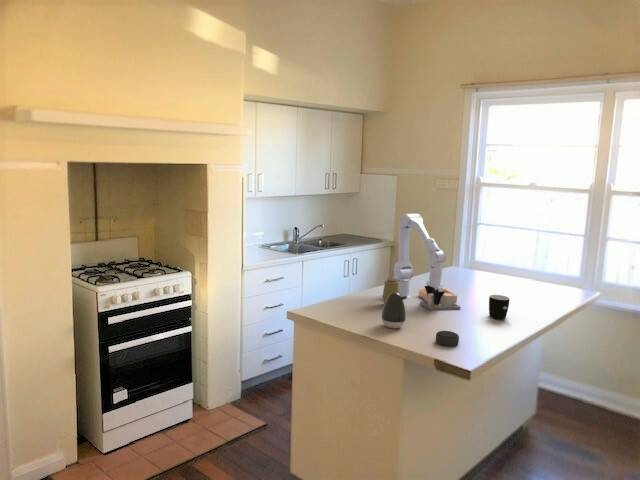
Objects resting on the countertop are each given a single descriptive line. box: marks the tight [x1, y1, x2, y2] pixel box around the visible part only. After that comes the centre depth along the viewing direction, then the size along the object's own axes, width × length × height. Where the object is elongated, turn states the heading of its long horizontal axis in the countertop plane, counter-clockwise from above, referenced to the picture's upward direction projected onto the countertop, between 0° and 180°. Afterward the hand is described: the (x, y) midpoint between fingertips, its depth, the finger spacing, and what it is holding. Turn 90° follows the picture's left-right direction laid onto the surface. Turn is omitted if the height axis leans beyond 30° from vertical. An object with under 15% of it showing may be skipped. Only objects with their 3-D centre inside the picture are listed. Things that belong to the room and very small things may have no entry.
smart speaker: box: [435, 330, 460, 347], centre depth 213 cm, size 9×9×4 cm
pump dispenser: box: [381, 292, 408, 330], centre depth 229 cm, size 10×10×15 cm
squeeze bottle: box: [382, 268, 399, 305], centre depth 262 cm, size 8×8×18 cm
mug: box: [488, 294, 511, 321], centre depth 251 cm, size 12×9×10 cm
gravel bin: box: [418, 288, 458, 303], centre depth 278 cm, size 15×13×4 cm
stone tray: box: [419, 300, 461, 311], centre depth 263 cm, size 16×11×2 cm
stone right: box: [441, 293, 455, 307], centre depth 264 cm, size 4×4×6 cm
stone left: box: [427, 294, 439, 307], centre depth 262 cm, size 4×4×6 cm
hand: (433, 302), depth 262 cm, fingers open, 7 cm apart
